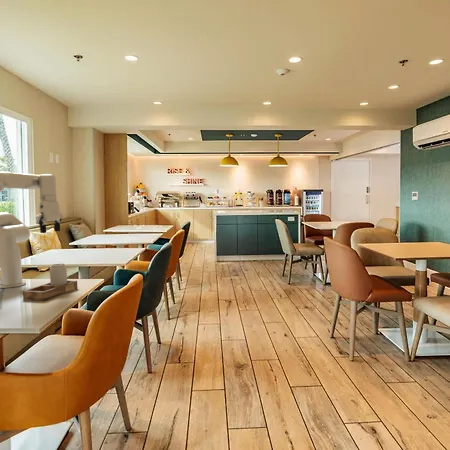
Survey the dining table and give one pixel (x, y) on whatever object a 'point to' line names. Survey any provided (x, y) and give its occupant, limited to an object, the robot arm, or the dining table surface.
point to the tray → (48, 291)
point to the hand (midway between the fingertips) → (50, 232)
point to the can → (58, 274)
